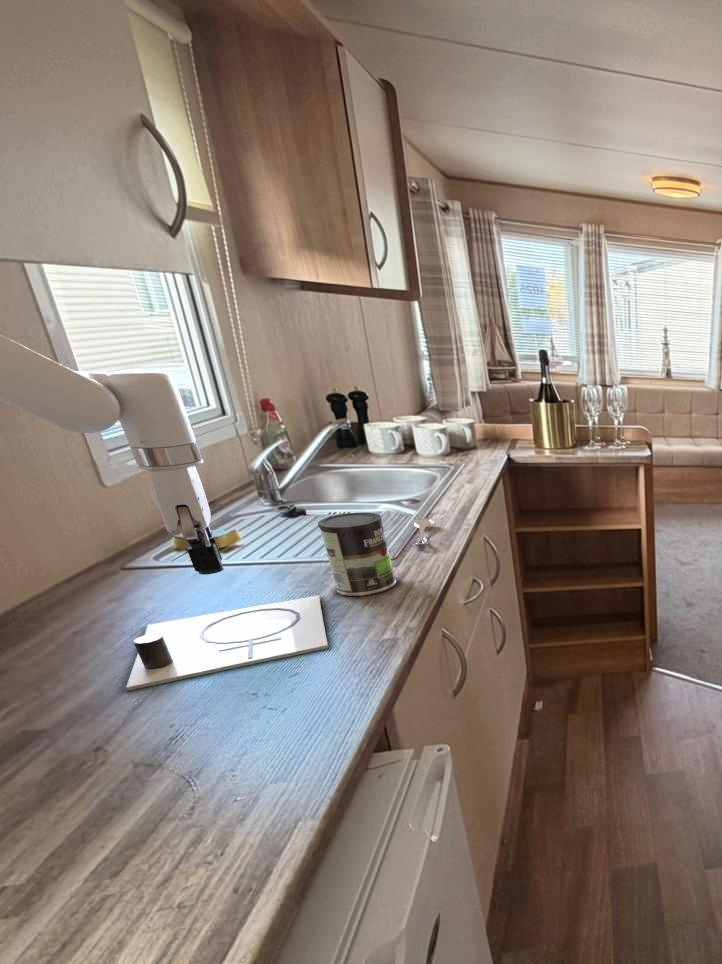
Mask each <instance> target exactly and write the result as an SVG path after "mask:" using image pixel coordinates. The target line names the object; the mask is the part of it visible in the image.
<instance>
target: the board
mask: <svg viewBox="0 0 722 964" xmlns="http://www.w3.org/2000/svg"><path fill="white" fill-rule="evenodd" d="M149 634H162V635H163V638H164V640H165V643H166V645H167V647H168V650H169V652H170V655H171V657H172V659H173V662H172V663H171V664H170V665H168V666H165V667H162V668H158V669H145V667H144V665H143V663H142V661H141V658H140V656H139V654H138V653H137V655H136V657H135V659H134V663H133V667H132V669H131V672H130V675H129V678H128V680H127V684H126V685H125V689H126V691H128V692H129V691H133V690H134V691H135V690H137V689H143V688H147V687H152V686H156V685H161V684H166V683H171V682H175V681H181V680H185V679H190V678H194V677H195V678H196V677H199V676H204V675H209V674H213V673H218V672H223V671H227V670H232V669H236V668H242V667H247V666H250V665H256V664H260V663H264V662H265V663H266V662H269V661H274V660H279V659H284V658H288V657H293V656H297V655H298V656H299V655H302V654H308V653H311V652H317V651H322V650H326V649H329V644H328V639H327V632H326V627H325V622H324V617H323V609H322V602H321V598H320V595H318V594H317V595H313V596H312V595H311V596H306V597H300V598H295V599H290V600H289V599H288V600H283V601H278V602H272V603H266V604H259V605H254V606H249V607H243V608H237V609H232V610H226V611H220V612H214V613H208V614H201V615H197V616H192V617H186V618H179V619H174V620H168V621H162V622H156V623H152V624H147V625H146V629H145V632H144V635H143V636H145V635H149Z"/></svg>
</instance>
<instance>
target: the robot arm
mask: <svg viewBox="0 0 722 964" xmlns="http://www.w3.org/2000/svg"><path fill="white" fill-rule="evenodd" d="M0 402H1V403H3V404H5V405H8V406H10V407H13V408H15V409H17V410H20V411H22V412H24V413H26V414H29V415H31V416H34V417H36V418H38V419H39V420H43V421H45V422H47V423H49V424H52V425H54V426H56V427H59V428H61V429H64V430H66V431H70V432H73V433H74V432H75V433H79V434H94V433H101V432H104V431H107V430H109V429H111V428H112V427H113V426H114V425H115V424H116V423H118V422H119V423H120V426H121V428H122V430H123V433H124V436H125V439H126V440H127V443H128V446H129V449H130V450H131V453H132V456H133V459H134V460H135V464H136V465H137V468H138V469H140V470H143V471H147V473H148V478H149V481H150V485H151V489H152V492H153V495H154V497H155V501H156V503H157V507H158V510H159V512H160V515H161V519H162V521H163V524H164V527H165V530H166V532H168V533H170V534H174V533H175V532H176V531H177V530H178V528H179V529H180V532H181V535H182V537H183V540H184V543H185V546H186V551H187V553H188V556H189V559H190V562H191V564H192V567H193V569H194V571H195V572H197V573H199V572H200V571H207V570H214V569H219V568H220V567H221V565H220V562H219V559H218V556H217V554H216V551H215V548H214V545H211V544H210V543H214V544H215V545H216V548H217V551H218V554H219V557H220V559H221V561H222V560H223V557H222V554H221V552H220V549H219V546H218V543H217V541H216V538H215V537H214V536H213V532H212V530H211V527H210V522H211V518H212V517H211V516H212V514H211V508H210V505H209V501H208V498H207V495H206V492H205V489H204V486H203V482H202V481H201V478H200V475H199V472H198V469H197V467H196V466H199V465H203V463H204V459H203V456H202V453H201V451H200V448H199V444H198V442H197V440H196V436H195V433H194V431H193V427H192V425H191V422H190V419H189V416H188V414H187V410H186V407H185V405H184V402H183V399H182V395H181V394H180V390H179V388H178V386H177V383H176V381H175V379H174V377H172V375H170V374H169V373H167V372H164V371H160V370H151V369H150V370H149V369H148V370H146V369H144V370H142V369H140V370H120V371H119V370H118V371H114V372H89V371H75V370H73V369H71V368H70V367H67V366H66V365H63V364H62V363H59V362H57V361H56V360H53V359H51V358H49V357H47V356H45V355H43V354H41V353H39V352H37V351H35V350H33V349H31V348H29V347H26V346H24V345H23V344H21V343H19V342H16V341H14V340H13V339H11V338H9V337H7V336H4V335H3V334H1V333H0Z"/></svg>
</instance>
